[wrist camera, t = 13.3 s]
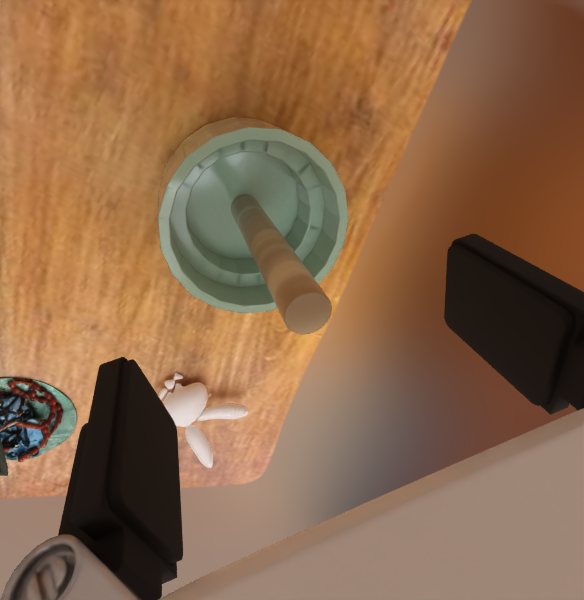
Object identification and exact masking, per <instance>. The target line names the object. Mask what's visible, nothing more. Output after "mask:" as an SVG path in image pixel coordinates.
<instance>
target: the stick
mask: <svg viewBox="0 0 584 600" xmlns="http://www.w3.org/2000/svg"><path fill="white" fill-rule="evenodd" d="M231 213H232V215H233V217H234V219H235V221H236V223H237V225H238V228H239V230H240V232H241V234H242V236H243V238H244V240H245V242H246V244H247V246H248V248H249V250H250V252H251V254H252V256H253V258H254V261H255V263H256V265H257V267H258V269H259V271H260V273H261V275H262V277H263V279H264V281H265V283H266V285H267V287H268V289H269V291H270V293H271V296H272V298H273V300H274V302H275V304H276V306H277V308H278V310H279V312H280V314H281V316H282V318H283V320H284V322H285V324H286V326H287V327H288V329H290V330H291V331H292V332H295V333H297V334H310V333H313V332H315V331H317V330H319V329H320V328H322V327H323V326H324V325H325V324H326V323H327V321H328V320H329V318H330V315H331V311H332V307H331V302H330V300H329V298H328V297H327V296H326V294H325V293H324V292H323V290H322V289H321V287H320V286H319V285H318V283H317V282H316V281H315V279H314V278H313V277H312V275H311V274H310V272H309V271H308V270H307V268H306V267H305V266H304V264H303V263H302V262H301V260H300V259H299V257H298V256H297V255H296V253H295V252H294V251H293V249H292V248H291V246H290V245H289V244H288V242H287V241H286V240H285V238H284V237H283V236H282V234H281V233H280V231H279V230H278V229H277V227H276V226H275V225H274V223H273V222H272V221H271V219H270V218H269V216H268V215H267V214H266V212H265V211H264V210H263V208H262V207H261V205H260V204H259V203H258V201H257V200H256V199H255V198H254V197H253V196H251V195H248V194H243V195H239V196H238V197H236V198H235V199H234V200H233V202H232V204H231Z"/></svg>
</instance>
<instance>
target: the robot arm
mask: <svg viewBox="0 0 584 600" xmlns="http://www.w3.org/2000/svg"><path fill="white" fill-rule="evenodd" d="M444 318H445V321H446V324H447V325H448V327H449V328H450V329H452V331H454V332H455V333H456V334H457V335H458V336H459V337H460V338H461V339H463V341H465V342H466V343H467V344H468V345H469V346H470V347H471V348H472V349H473V350H474V351H476V352H477V353H478V354H479V355H480V356H481V357H482V358H483V359H484V360H485V361H487V362H488V363H489V364H490V365H491V366H492V367H493V368H494V369H495V370H496V371H497V372H498V373H500V374H501V375H502V376H503V377H504V378H505V379H506V380H507V381H508V382H509V383H511V384H512V385H513V386H514V387H515V388H516V389H517V390H518V391H519V392H520V393H521V394H523V395H524V396H525V397H526V398H527V399H528V400H529V401H530V402H532V403H533V404H535V405H538V406H541V407H543V408H544V409H545V410H546V411H547V412H548V413H549V414H553V413H556V412H558V411H560V410H562V409H565V408H567V407H568V406H569V403H570V404H571V405H572V406H573V407H575V408H576V409H577V411H576V412H573V413H571V414H569V415H566V416H564V417H562V418H559V419H557V420H555V421H552V422H550V423H548V424H546V425H543V426H541V427H539V428H536V429H534V430H532V431H529V432H527V433H525V434H522V435H520V436H518V437H515V438H513V439H511V440H509V441H506V442H504V443H502V444H499V445H497V446H495V447H492V448H490V449H488V450H485V451H483V452H481V453H479V454H476V455H474V456H472V457H470V458H467V459H465V460H463V461H461V462H458V463H456V464H454V465H451V466H449V467H447V468H444V469H442V470H440V471H437V472H435V473H433V474H431V475H428V476H426V477H424V478H421V479H420V480H417V481H415V482H412V483H410V484H408V485H406V486H403V487H401V488H399V489H397V490H394V491H392V492H390V493H387V494H385V495H383V496H381V497H378V498H376V499H374V500H371V501H369V502H367V503H365V504H362V505H360V506H358V507H356V508H353V509H351V510H349V511H347V512H344V513H342V514H340V515H338V516H335V517H333V518H331V519H329V520H326V521H324V522H322V523H320V524H317V525H315V526H313V527H311V528H309V529H306V530H304V531H302V532H299V533H297V534H295V535H293V536H291V537H288V538H286V539H284V540H281V541H279V542H277V543H275V544H273V545H270V546H268V547H266V548H264V549H261V550H259V551H257V552H255V553H253V554H251V555H249V556H246V557H244V558H242V559H240V560H238V561H236V562H233V563H231V564H229V565H227V566H225V567H223V568H221V569H218V570H216V571H214V572H212V573H210V574H208V575H206V576H203V577H201V578H199V579H197V580H195V581H193V582H191V583H189V584H187V585H185V586H184V587H181V588H180V589H178V590H176V591H174V592H172V593H170V594H168V595H167V596H164V597H162V598H161V596H162V584H163V583H166V582H168V581H170V580H172V579H175V578H177V565H176V562H177V561H180V560H181V559H182V556H183V541H182V520H181V502H180V501H181V500H180V480H179V459H178V439H177V429H176V425H175V422H174V420H173V418H172V417H171V415H170V414H169V412H168V411H167V409H166V408H165V406H164V404H163V403H162V401H161V400H160V398H159V397H158V395H157V394H156V392H155V391H154V389H153V387H152V386H151V384H150V383H149V381H148V380H147V378H146V377H145V375H144V374H143V372H142V371H141V369H140V367H139V366H138V364H137V363H136V362H135V360H133V359H132V360H129V361H128V360H127V359H126V358H124V357H121V358H118V359H115V360H112V361H110V362H107V363H104V364H101V365H100V367H99V371H98V376H97V381H96V386H95V391H94V396H93V401H92V406H91V411H90V416H89V421H88V423H86V424H85V425H84V426H83V427H82V429H81V432H80V435H79V440H78V445H77V450H76V454H75V459H74V464H73V468H72V473H71V478H70V482H69V487H68V492H67V496H66V501H65V506H64V511H63V515H62V520H61V525H60V529H59V534H58V536H56V537H53V538H50V539H48V540H46V541H45V542H43V543H41V544H40V545H38V546H37V547H36V548H35V549H34V550H32V551H31V552H30V553H29V554H28V555H27V556H26V557H25V558H24V559H23V560H22V561H21V563H20V564H19V565H18V566H17V568H16V569H15V570H14V572H13V573H12V575H11V577H10V579H9V581H8V582H7V584H6V586H5V589H4V592H3V594H2V597H1V600H584V292H582V291H580V290H578V289H577V288H575V287H573V286H571V285H569V284H567V283H566V282H564V281H562V280H560V279H558V278H556V277H555V276H553V275H551V274H549V273H547V272H545V271H543V270H541V269H539V268H538V267H536V266H534V265H532V264H531V263H529V262H527V261H525V260H523V259H521V258H519V257H517V256H516V255H514V254H512V253H510V252H508V251H506V250H504V249H503V248H501V247H499V246H497V245H495V244H494V243H492V242H489V241H488V240H486V239H484V238H482V237H480V236H478V235H477V234H470V235H468V236H465V237H461V238H459V239H456V240H454V241H453V243H452V245H451V247H449V249H448V254H447V274H446V293H445V313H444Z"/></svg>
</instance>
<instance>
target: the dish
mask: <svg viewBox="0 0 584 600" xmlns="http://www.w3.org/2000/svg"><path fill="white" fill-rule="evenodd" d="M14 379H15V378H4V379H0V476H1V475H5V476H7V475H8V466H7V463H6V459H9V460H18V462H23V460H24V459H28V458H34V457H37V456H39V455H41V454H43V453H44V452H46V451H48V450H50V449H52V448H54V447H55V446H58V445H59V444H61V443H62V442H64V441H65V440H66V439H67V438H68V437H69V436H70V435H71V434H72V432H73V430H74V428H75V425H76V420H77V415H76V411H75V409H74V406H73V404H72V402H71V401H70V400H69V399H68V398H67V397H66V396H64V395H63V394H62V393H61V392H59V391H58V390H56V389H55V388H53V387H52V386H49V385H47V384H45V383H42V382H39V381H35V380H32V379H31V383H27V382H26V379H24V380H23V381H19V382H17V381H15V380H14Z"/></svg>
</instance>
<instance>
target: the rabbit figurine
mask: <svg viewBox="0 0 584 600" xmlns="http://www.w3.org/2000/svg"><path fill="white" fill-rule="evenodd" d="M182 378H183V377H182V376H181V375H179V374H178V373H174V378H173V379H171V380H166V381H165V383H164V384H165V386H166V388H167V389H172V388H173V387H174V384H175V380H177V379H182ZM166 388H163V389H162V390H161V391H160V392H159V394H158V397H159V398H160V400H161V399H162V398H163V396H164V395H165V394H166V393H167V389H166ZM210 396H212V395H211V393H210V394H208V395H207V389H206V387H205V386H204V384H202V383H199V382H197V383H192V384H189V385H187V386H185V387H183V386H181V384H180V383H177V384H176V386H175V390H174V392H173V393H171V392H168V394H167V396H166V398H165V400H164V402H163V404H164V406H165V408H166V409H167V411H168V412H169V414H170V415H171V417H172V418H173V420H174V422H175V425H176V426H181V427H188V428H187V429H186V431H185V437H186V439H187V441H188V443H189V445H190V446H191V448H192V450H193V451H194V453H195V454H196V456H197V457H198V459H199V460H200V462H201V463H202V464H203V465H204V466H205V467H207V468H212V466H213V452H212V448H211V445H210V443H209V441H208V439H207V438H206V436H205V435H204V434H203V433H202V431H201V430H200V429H199V428H198V427H197V426H196V425H192V426H190V425H191V423H192V422H194V421H195V420H196V419H197V420H196V421H204V420H210V419H238V418H241V417H244V416H246V415H247V414H248V412H249V410H248V408H246V407H245V406H243V405H238V404H233V403H226V404H218V405H213V406H210V407H208V408H207V409H205V410H204V408H205V406H206V403H207V399H208V398H209V397H210Z"/></svg>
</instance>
